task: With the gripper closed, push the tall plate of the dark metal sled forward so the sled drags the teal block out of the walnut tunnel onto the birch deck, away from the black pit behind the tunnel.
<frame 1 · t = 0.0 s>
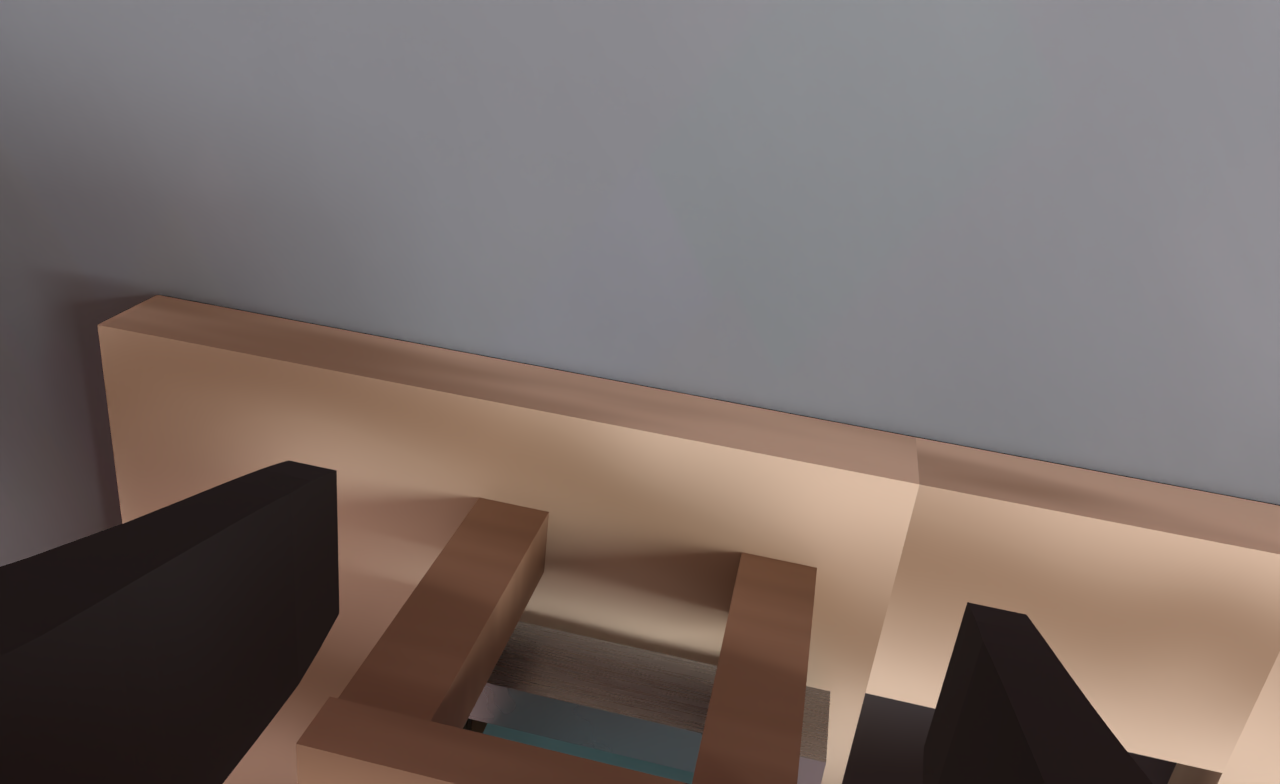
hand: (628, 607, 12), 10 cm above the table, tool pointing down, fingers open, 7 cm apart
block: (611, 778, 24), point 2 cm above the table, touching deck
deck: (630, 719, 25), on the table
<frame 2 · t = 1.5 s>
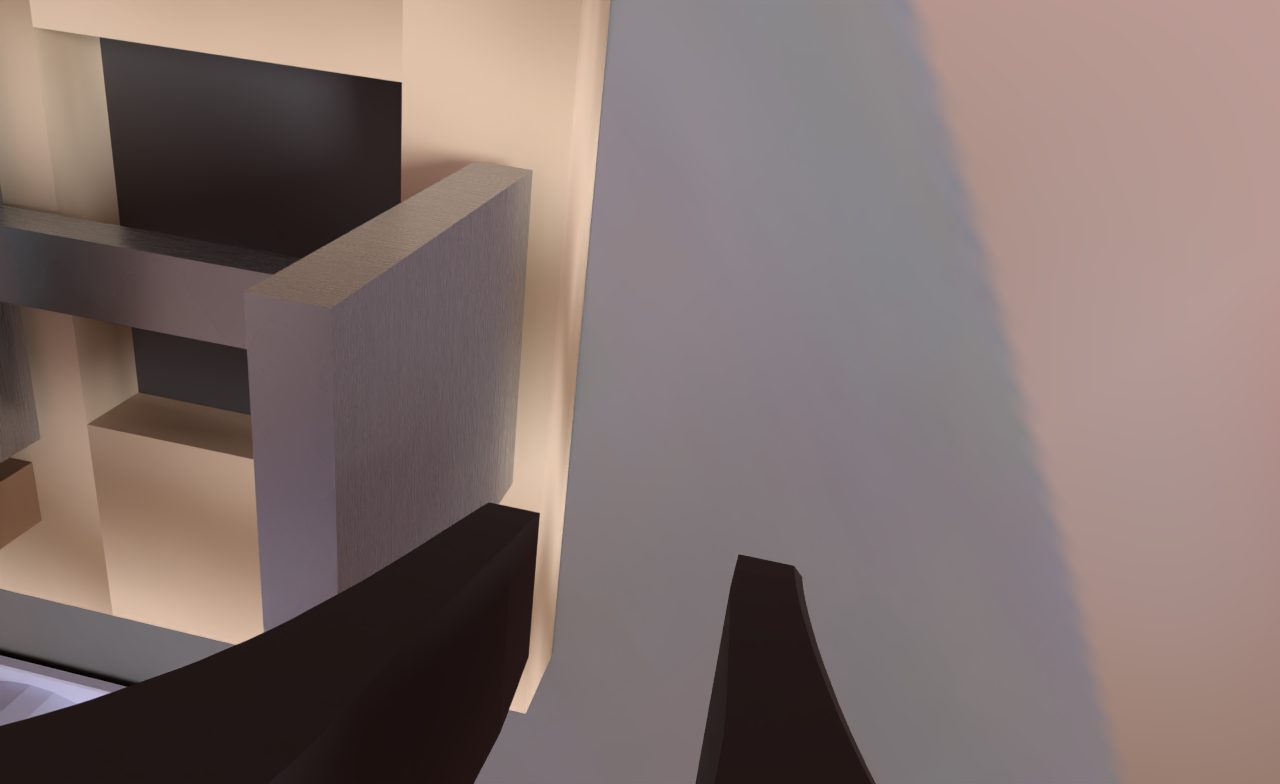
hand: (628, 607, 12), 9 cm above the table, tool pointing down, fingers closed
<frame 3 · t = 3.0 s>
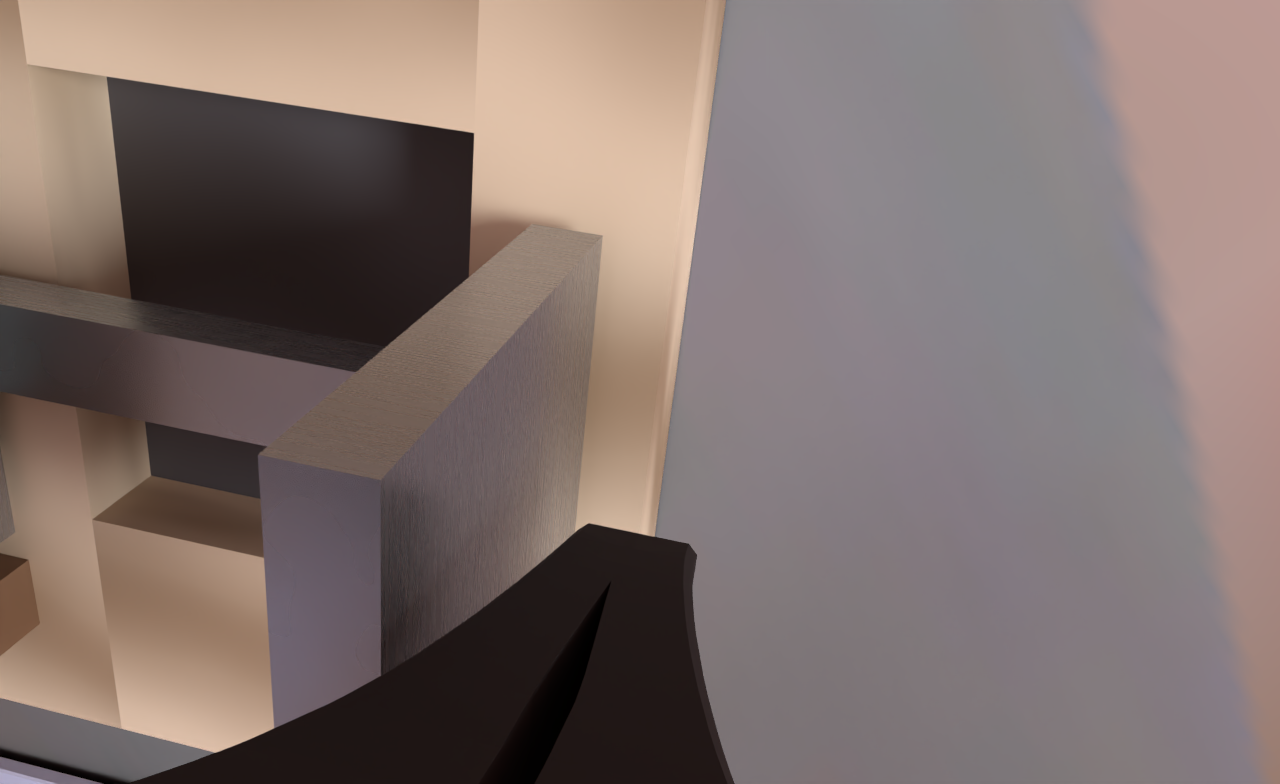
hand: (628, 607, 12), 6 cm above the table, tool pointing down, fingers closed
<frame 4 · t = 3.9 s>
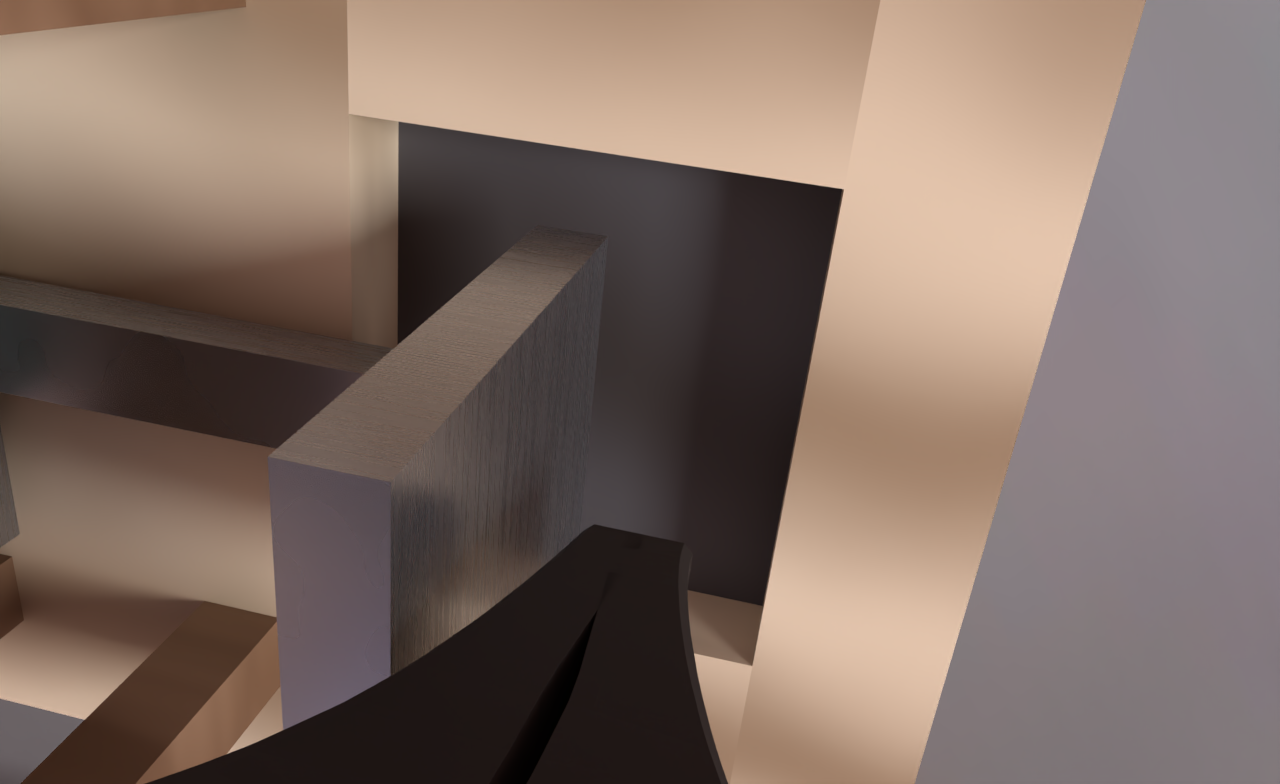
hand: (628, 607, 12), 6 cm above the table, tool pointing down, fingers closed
deck: (146, 280, 19), on the table
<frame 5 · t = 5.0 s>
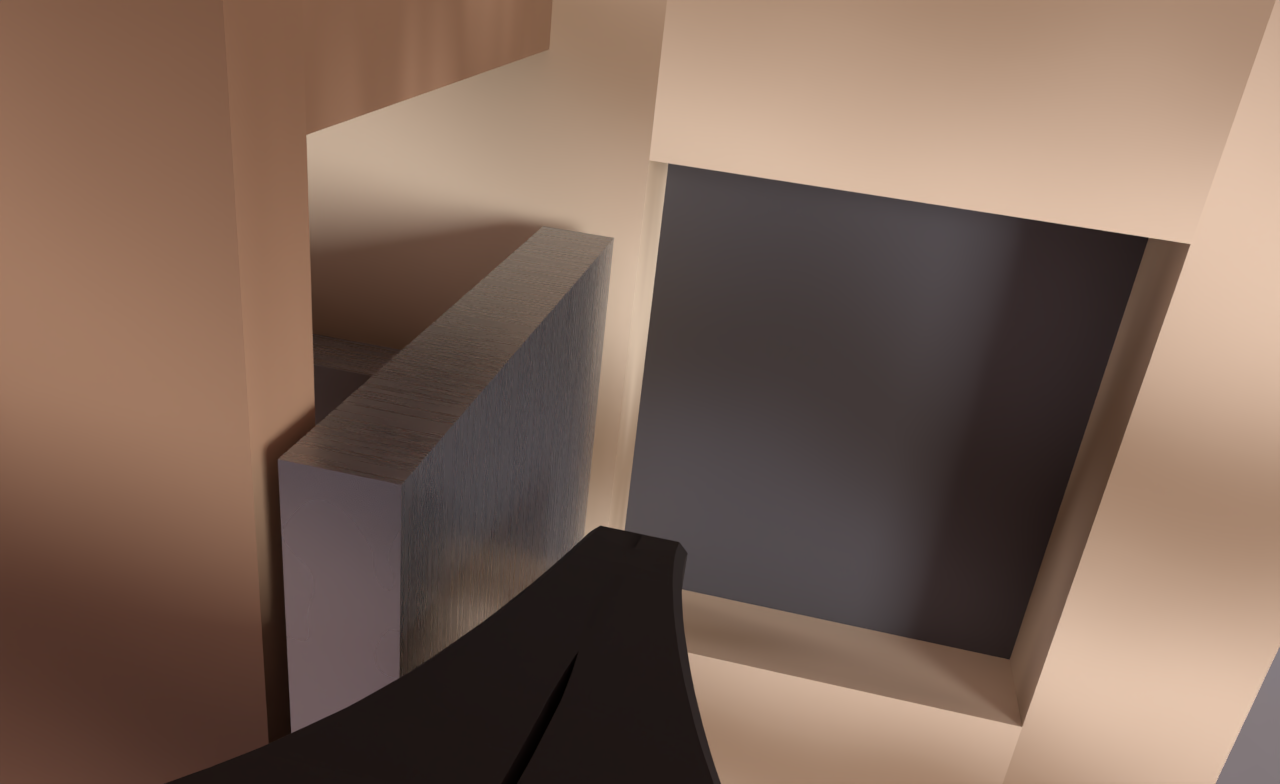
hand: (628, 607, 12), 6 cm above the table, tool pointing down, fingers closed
deck: (370, 320, 18), on the table
tunnel: (170, 473, 13), on the deck, point 6 cm above the table
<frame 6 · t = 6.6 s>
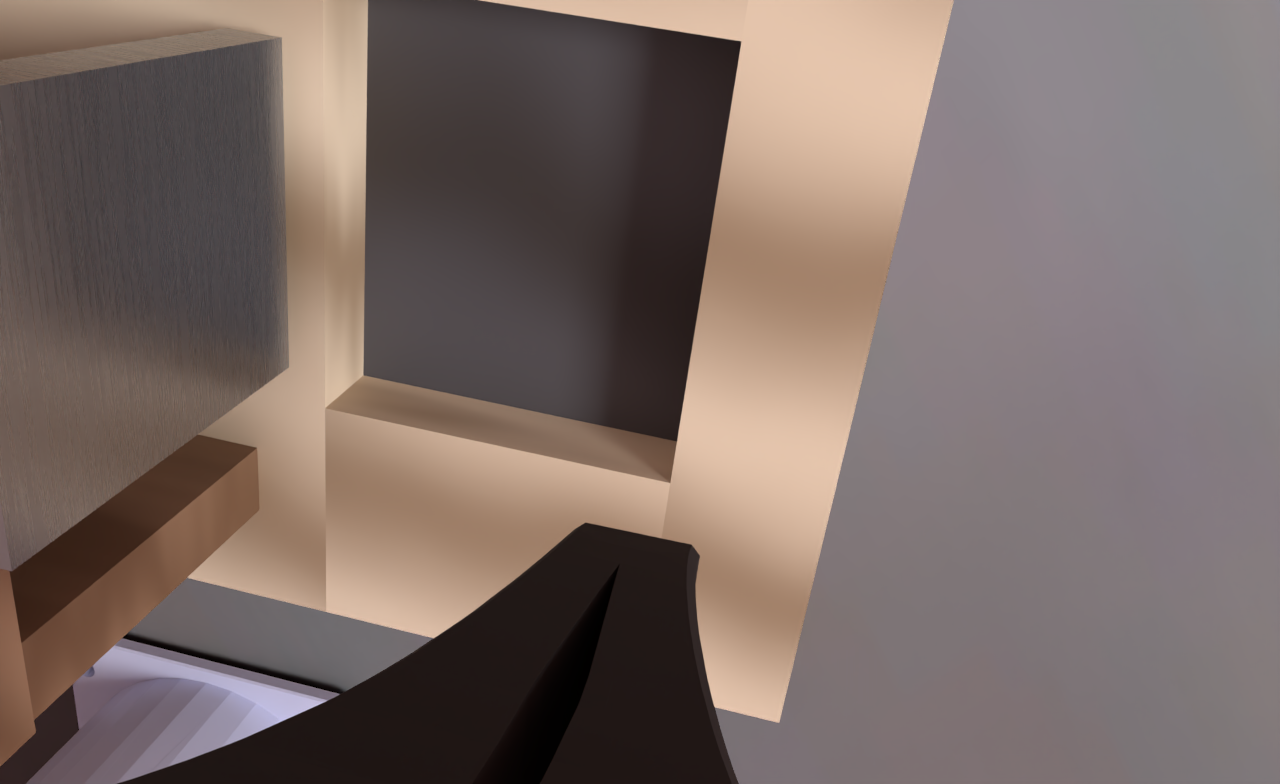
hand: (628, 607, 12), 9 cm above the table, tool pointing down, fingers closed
deck: (143, 145, 21), on the table
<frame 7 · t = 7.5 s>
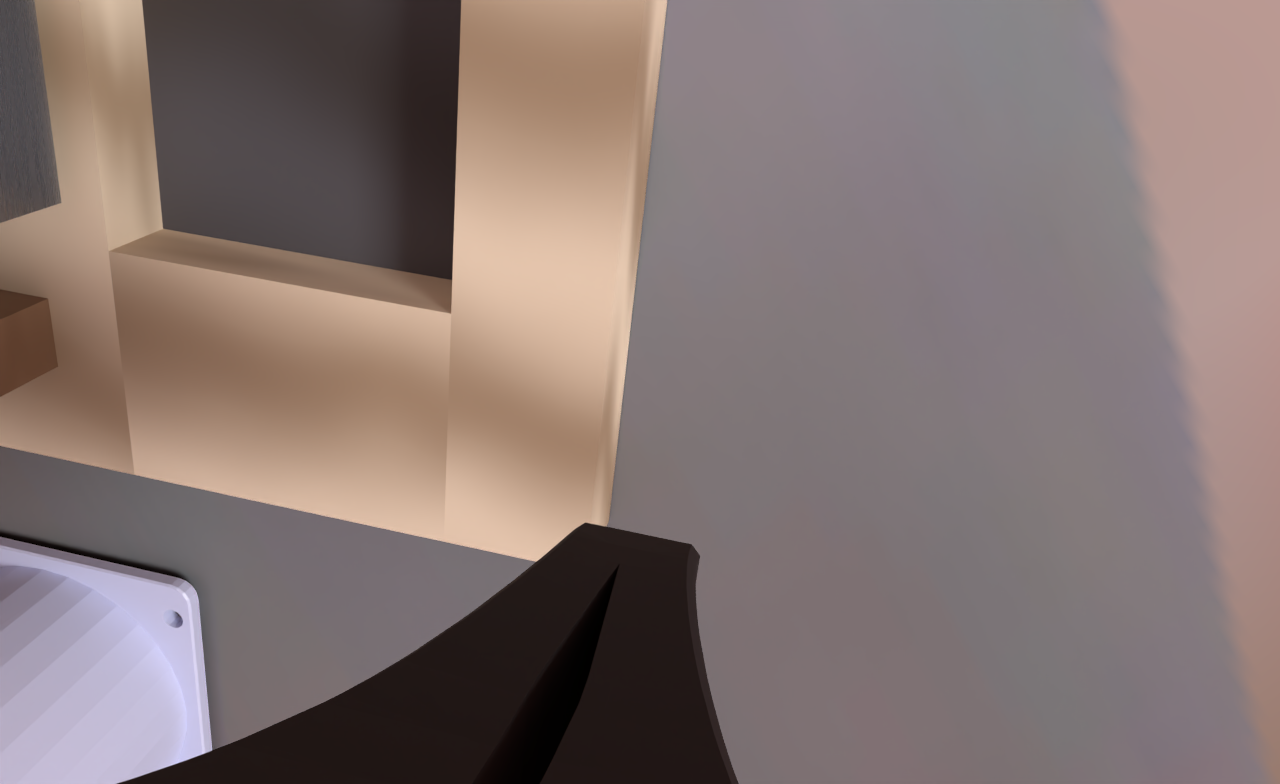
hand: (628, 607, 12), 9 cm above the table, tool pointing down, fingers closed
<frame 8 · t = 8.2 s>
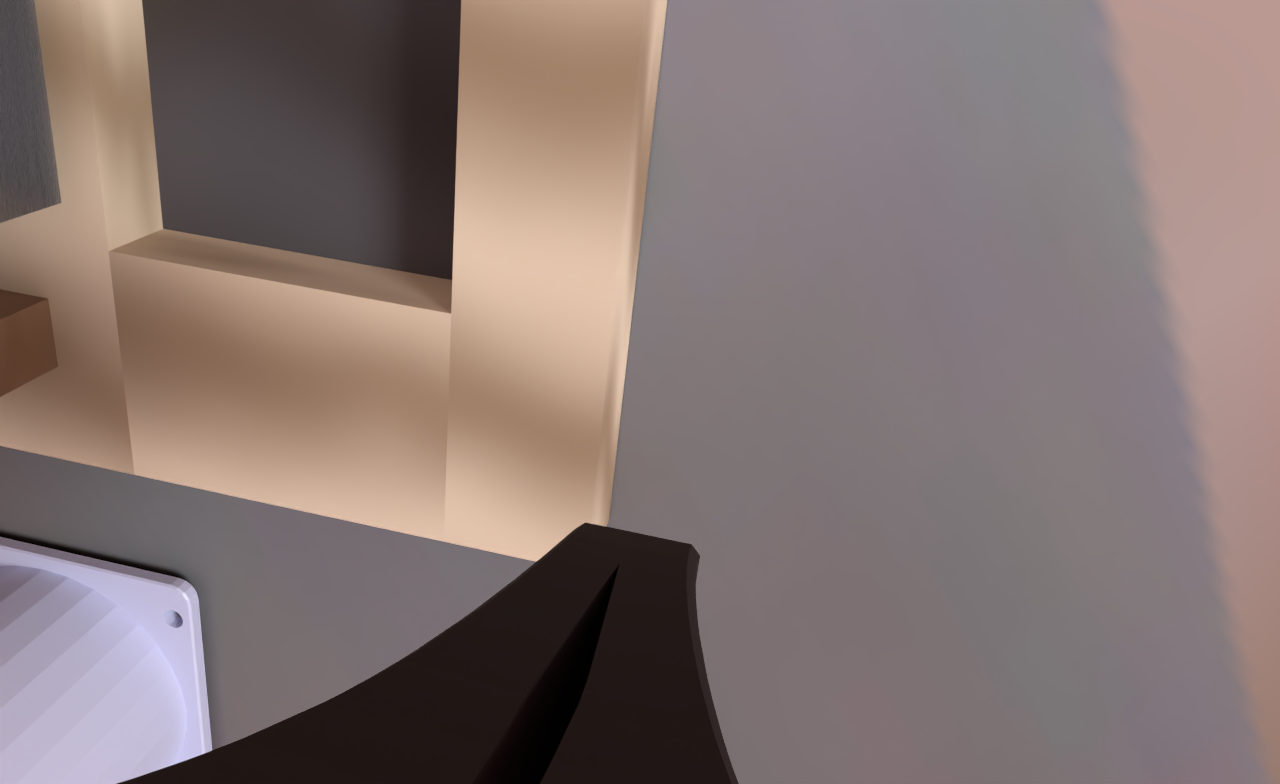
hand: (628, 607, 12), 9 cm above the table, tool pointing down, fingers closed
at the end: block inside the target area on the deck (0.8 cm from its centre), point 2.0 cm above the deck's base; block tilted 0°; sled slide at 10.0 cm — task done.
